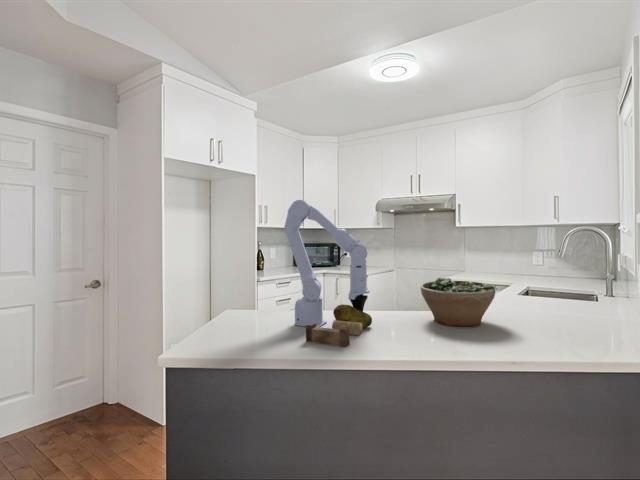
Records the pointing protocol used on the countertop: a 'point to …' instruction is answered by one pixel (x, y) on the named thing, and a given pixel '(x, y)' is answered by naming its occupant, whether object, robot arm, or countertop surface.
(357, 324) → the roller
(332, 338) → the stop rail
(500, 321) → the countertop surface
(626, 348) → the countertop surface
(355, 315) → the potato
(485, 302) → the planter
